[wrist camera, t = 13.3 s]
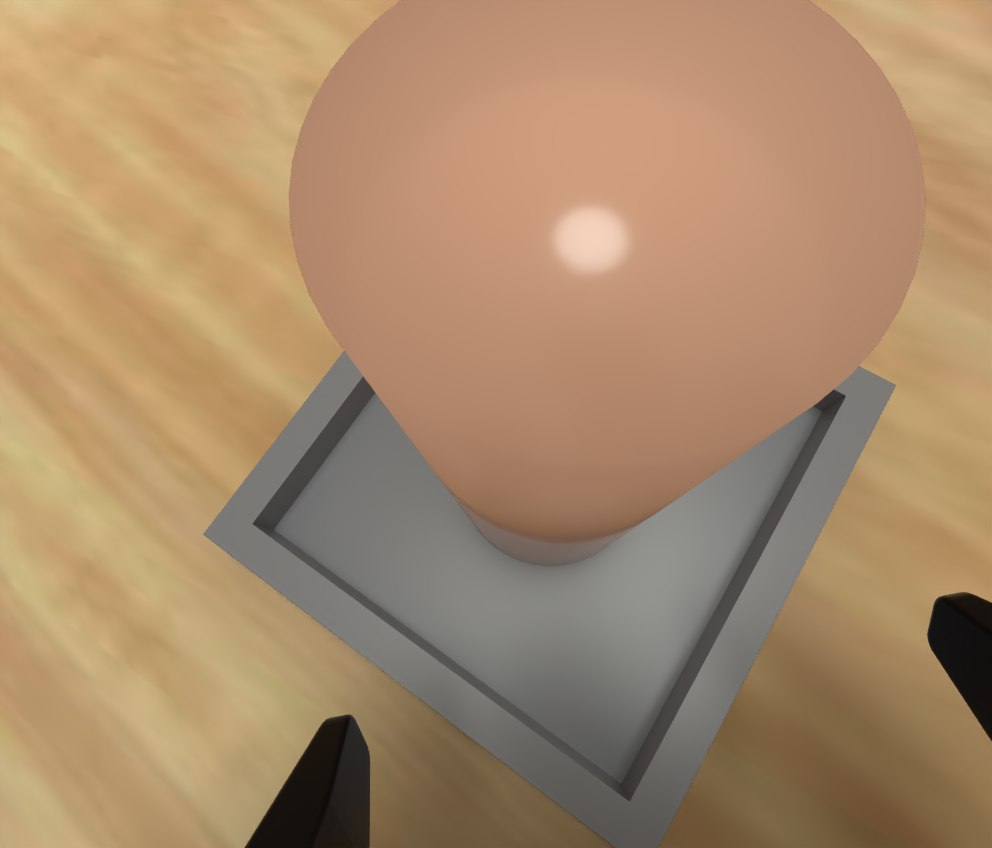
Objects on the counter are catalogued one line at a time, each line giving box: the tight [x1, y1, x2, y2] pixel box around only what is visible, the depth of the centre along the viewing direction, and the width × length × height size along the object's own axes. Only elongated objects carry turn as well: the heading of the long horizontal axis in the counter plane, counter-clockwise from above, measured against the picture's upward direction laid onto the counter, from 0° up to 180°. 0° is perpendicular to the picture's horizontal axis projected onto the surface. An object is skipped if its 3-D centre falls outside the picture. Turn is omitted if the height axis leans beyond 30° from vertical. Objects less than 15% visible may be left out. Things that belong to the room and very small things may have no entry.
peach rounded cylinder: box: [289, 0, 926, 566], centre depth 11 cm, size 6×6×13 cm
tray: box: [203, 351, 896, 848], centre depth 17 cm, size 14×14×2 cm
